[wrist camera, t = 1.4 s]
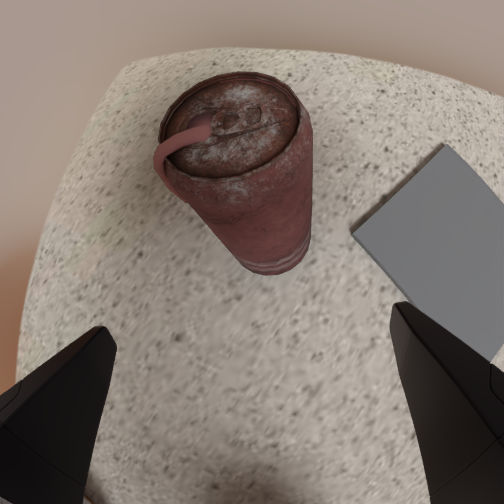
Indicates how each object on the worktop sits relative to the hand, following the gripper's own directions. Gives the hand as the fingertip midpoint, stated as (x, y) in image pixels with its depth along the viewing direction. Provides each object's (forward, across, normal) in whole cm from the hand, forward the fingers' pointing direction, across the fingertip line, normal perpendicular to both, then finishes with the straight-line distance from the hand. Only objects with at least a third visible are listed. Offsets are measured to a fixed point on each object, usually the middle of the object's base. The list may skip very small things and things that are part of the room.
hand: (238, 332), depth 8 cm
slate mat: (+12, -17, +7) cm, 22 cm away
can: (+15, 0, +4) cm, 15 cm away
